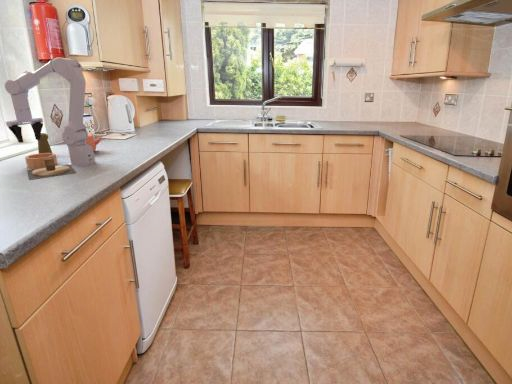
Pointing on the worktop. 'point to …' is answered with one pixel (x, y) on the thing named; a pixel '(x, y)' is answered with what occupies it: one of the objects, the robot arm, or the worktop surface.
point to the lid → (50, 169)
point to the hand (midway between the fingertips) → (29, 140)
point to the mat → (32, 177)
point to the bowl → (39, 160)
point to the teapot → (92, 141)
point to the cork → (44, 144)
